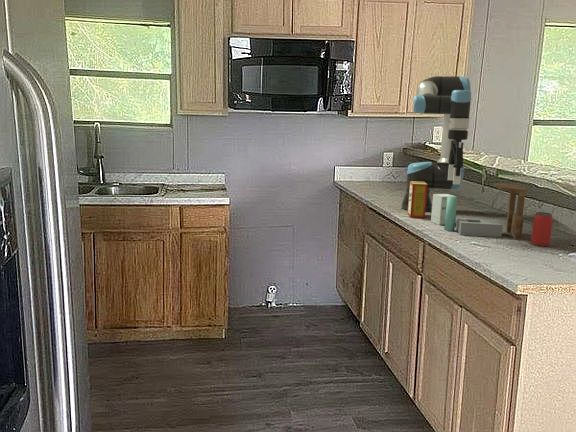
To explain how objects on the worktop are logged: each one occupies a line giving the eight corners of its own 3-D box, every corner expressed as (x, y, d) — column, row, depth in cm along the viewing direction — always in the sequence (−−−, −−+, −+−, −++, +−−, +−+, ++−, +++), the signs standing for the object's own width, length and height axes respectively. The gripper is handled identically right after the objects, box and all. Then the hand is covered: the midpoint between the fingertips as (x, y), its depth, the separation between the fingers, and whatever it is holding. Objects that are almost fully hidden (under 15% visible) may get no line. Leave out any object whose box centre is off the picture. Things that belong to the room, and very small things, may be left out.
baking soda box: (424, 218, 254) (427, 183, 251) (410, 217, 255) (412, 183, 251) (421, 214, 263) (424, 180, 260) (407, 213, 264) (410, 180, 261)
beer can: (533, 241, 215) (537, 211, 212) (551, 244, 211) (555, 213, 208) (528, 244, 210) (532, 213, 207) (547, 247, 206) (550, 215, 203)
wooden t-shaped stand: (489, 230, 232) (494, 183, 228) (511, 231, 231) (517, 184, 227) (497, 238, 219) (502, 187, 215) (521, 239, 218) (527, 188, 214)
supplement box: (439, 225, 240) (441, 196, 237) (430, 221, 247) (432, 193, 244) (454, 224, 242) (456, 196, 239) (445, 221, 249) (447, 193, 246)
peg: (443, 228, 233) (446, 195, 230) (453, 229, 232) (456, 196, 229) (445, 230, 229) (448, 197, 226) (455, 231, 228) (458, 197, 226)
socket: (456, 229, 232) (457, 217, 231) (495, 231, 230) (496, 219, 229) (460, 234, 222) (461, 222, 221) (501, 237, 220) (502, 224, 219)
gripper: (444, 128, 235) (440, 178, 239) (453, 130, 211) (448, 185, 215) (462, 129, 234) (458, 179, 238) (474, 130, 210) (468, 186, 214)
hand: (453, 182), depth 226 cm, fingers open, 13 cm apart
